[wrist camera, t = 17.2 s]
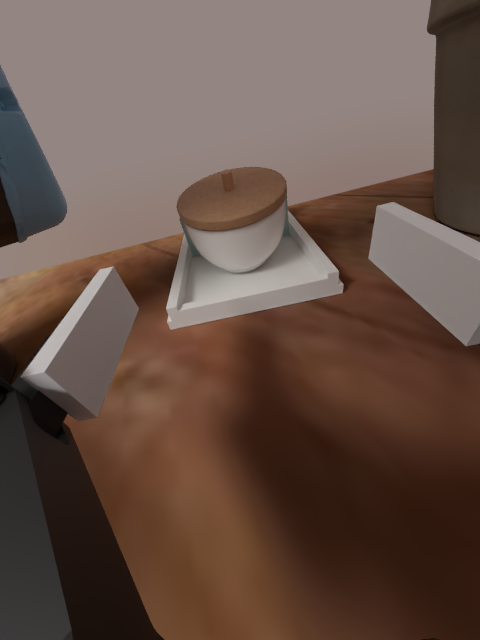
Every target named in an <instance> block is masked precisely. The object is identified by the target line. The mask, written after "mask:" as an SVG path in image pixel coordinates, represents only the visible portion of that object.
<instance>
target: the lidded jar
mask: <svg viewBox="0 0 480 640" xmlns="http://www.w3.org/2000/svg"><path fill="white" fill-rule="evenodd" d="M286 194H287V186H286V180H285V179H284V177H283V176H282V175H281V174H280V173H278V172H276V171H274V170H272V169H267V168H261V167H244V168H236V169H230V170H224V171H222V172H218V173H215V174H213V175H210V176H208V177H205V178H203V179H201V180H200V181H198V182H196V183H194V184H193V185H191V186H190V187H189V188H187V189H186V190H185V191H184V192H183V193H182V194H181V196H180V197H179V199H178V202H177V211H178V213H179V215H180V218H181V220H182V221H183V223H184V225H185V228H186V230H187V232H188V235H189V237H190V238H191V240H192V242H193V244H194V246H195V247H196V249H197V250H198V252H199V253H200V254H201V255H202V256H203V257H204V258H205V259H206V260H207V261H209V262H210V263H212V264H213V265H215V266H217V267H220V268H222V269H224V270H225V271H228V272H231V273H245V272H249V271H252V270H254V269H257V268H258V267H260V266H261V265H263V264H264V263H265V261H266V260H267V258H268V257H269V256H270V255H271V254H272V253H273V252H274V251H275V249H276V248H277V246H278V244H279V242H280V240H281V237H282V234H283V230H284V225H285V217H286Z"/></svg>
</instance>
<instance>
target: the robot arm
mask: <svg viewBox="0 0 480 640" xmlns="http://www.w3.org/2000/svg"><path fill="white" fill-rule="evenodd" d="M66 213H67V204H66V200H65V198H64V196H63V193H62V191H61V189H60V187H59V185H58V182H57V180H56V178H55V176H54V174H53V172H52V170H51V168H50V166H49V164H48V162H47V160H46V157H45V155H44V153H43V151H42V149H41V147H40V145H39V143H38V141H37V139H36V137H35V135H34V133H33V131H32V129H31V127H30V125H29V123H28V121H27V119H26V117H25V115H24V113H23V112H22V110H21V108H20V106H19V103H18V101H17V99H16V97H15V95H14V93H13V91H12V89H11V87H10V85H9V83H8V81H7V79H6V76H5V74H4V72H3V70H2V68H1V66H0V247H3V246H6V245H9V244H12V243H16V242H19V243H21V242H23V241H25V240H26V239H27V237H29V236H31V235H34V234H37V233H39V232H42V231H44V230H47V229H49V228H52V227H54V226H57V225H58V224H59V223H61V222H62V221H63V220H64V218H65V216H66ZM368 259H369V260H371V261H372V262H373V263H374V264H375V265H376V266H377V267H378V268H379V269H381V270H382V271H383V272H384V273H385V274H386V275H387V276H388V277H389V278H391V279H392V280H393V281H394V282H395V283H396V284H397V285H398V286H399V287H401V288H402V289H403V290H404V291H405V292H406V293H407V294H408V295H409V296H411V297H412V298H413V299H414V300H415V301H416V302H417V303H418V304H419V305H421V306H422V307H423V308H424V309H425V310H426V311H427V312H428V313H430V314H431V315H432V316H433V317H434V318H435V319H436V320H437V321H438V322H440V323H441V324H442V325H443V326H444V327H445V328H446V329H447V330H448V331H450V332H451V333H452V334H453V335H454V336H455V337H456V338H457V339H458V340H460V341H461V342H462V343H463V344H464V345H465V346H470V345H475V344H480V241H478V240H474V239H472V238H470V237H468V236H465V235H463V234H461V233H459V232H457V231H455V230H452V229H450V228H448V227H446V226H444V225H442V224H440V223H437V222H435V221H433V220H431V219H429V218H427V217H424V216H422V215H420V214H418V213H416V212H414V211H412V210H409V209H407V208H405V207H403V206H401V205H399V204H396V203H394V202H391V203H387V204H383V205H378V206H377V208H376V215H375V221H374V227H373V233H372V239H371V246H370V252H369V258H368ZM138 310H139V308H138V306H137V305H136V303H135V301H134V300H133V298H132V296H131V294H130V293H129V291H128V289H127V288H126V286H125V284H124V283H123V281H122V279H121V278H120V276H119V274H118V273H117V271H116V269H115V268H114V266H113V267H109V268H105V269H100V270H99V271H98V272H97V274H96V275H95V276H94V278H93V279H92V280H91V282H90V283H89V285H88V286H87V287H86V289H85V290H84V291H83V293H82V294H81V295H80V297H79V298H78V299H77V301H76V302H75V304H74V305H73V306H72V308H71V309H70V310H69V312H68V313H67V314H66V316H65V317H64V318H63V320H62V321H61V322H60V324H59V325H58V327H57V328H56V329H55V331H54V332H53V333H52V334H51V335H50V336H48V337H47V338H46V340H45V341H44V342H43V344H42V345H41V346H40V348H39V350H37V352H36V353H35V354H34V356H33V358H31V360H30V361H29V362H28V364H27V365H26V366H25V368H24V369H23V370H22V372H21V373H20V374H19V376H18V377H17V378H16V380H15V381H14V382H13V384H12V385H10V384H9V382H10V380H11V378H12V376H13V374H14V371H15V367H16V359H15V356H14V355H13V354H12V353H11V352H10V351H9V350H7V349H6V348H5V347H4V346H3V345H1V344H0V640H164V639H163V638H162V637H161V636H160V635H159V634H158V633H157V632H156V630H155V629H154V627H153V625H152V623H151V621H150V619H149V617H148V614H147V612H146V610H145V607H144V605H143V603H142V600H141V598H140V595H139V593H138V591H137V588H136V586H135V583H134V581H133V579H132V576H131V574H130V571H129V569H128V567H127V564H126V562H125V560H124V557H123V555H122V552H121V550H120V548H119V545H118V543H117V540H116V538H115V536H114V533H113V531H112V529H111V526H110V524H109V521H108V519H107V517H106V514H105V512H104V509H103V507H102V505H101V502H100V500H99V497H98V495H97V493H96V490H95V488H94V486H93V483H92V481H91V478H90V476H89V474H88V471H87V469H86V466H85V464H84V462H83V459H82V457H81V455H80V452H79V450H78V447H77V445H76V443H75V440H74V438H73V435H72V433H71V431H70V428H69V427H68V426H67V425H66V424H65V423H63V421H64V419H65V417H66V415H67V413H68V414H69V415H70V416H72V417H73V418H74V419H76V420H77V421H83V420H88V419H93V418H98V415H99V413H100V410H101V407H102V405H103V402H104V400H105V397H106V394H107V392H108V389H109V386H110V384H111V381H112V378H113V376H114V373H115V371H116V368H117V365H118V363H119V360H120V357H121V355H122V352H123V350H124V347H125V344H126V342H127V339H128V336H129V334H130V331H131V328H132V326H133V323H134V321H135V318H136V315H137V313H138ZM422 640H438V639H435V638H430V639H422Z"/></svg>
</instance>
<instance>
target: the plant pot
mask: <svg viewBox="0 0 480 640" xmlns="http://www.w3.org/2000/svg"><path fill="white" fill-rule="evenodd" d="M427 31H428V33H429V34H432V35H435V36H436V62H435V97H434V182H433V203H434V214H435V216H436V218H437V219H438V220H439V221H440V222H442V223H443V224H445V225H447V226H449V227H452V228H454V229H457V230H460V231H464V232H468V233H472V234H477V235H480V0H431V7H430V13H429V19H428V25H427Z"/></svg>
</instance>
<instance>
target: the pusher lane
mask: <svg viewBox="0 0 480 640" xmlns="http://www.w3.org/2000/svg"><path fill="white" fill-rule="evenodd" d="M288 222H289V234H287V235H283V236H282V237H281V240H280V242H279V244H278V246H277V248H276V249H275V251H274V252H273V253H272V254H271V255H270V256H269V257H268V258H267V260H266V261H265V263H264V264H263V265H261V266H260V267H258V268H257V269H254V270H252V271H249V272H245V273H231V272H228V271H225V270H224V269H222V268H220V267H217V266H215V265H213V264H212V263H210V262H209V261H207V260H206V259H205V258H204V257H203V256H202V255H201V254H200V255H196V256H192V253H191V250H190V248H189V245H188V242H187V239H186V236H185V233H184V237H183V241H182V245H181V249H180V253H179V258H178V262H177V266H176V270H175V274H174V278H173V282H172V286H171V290H170V294H169V299H168V303H167V307H166V310H167V312H168V314H169V316H168V320H167V323H168V325H169V327H170V329H171V330H172V329H177V328H181V327H186V326H191V325H196V324H200V323H205V322H210V321H214V320H219V319H224V318H229V317H233V316H238V315H243V314H247V313H252V312H257V311H262V310H266V309H271V308H276V307H280V306H285V305H290V304H294V303H299V302H304V301H309V300H313V299H318V298H323V297H327V296H332V295H337V294H342V293H343V285H344V284H343V283H342V282H341V281H340V279H339V271H338V269H337V268H336V267H335V266H334V265H333V263H332V262H331V261H330V260H329V259H328V257H327V256H326V255H325V254H324V253H323V251H322V250H321V249H320V248H319V247H318V245H317V244H316V243H315V242H314V241H313V239H312V238H311V237H310V236H309V235H308V233H307V232H306V231H305V230H304V229H303V227H302V226H301V225H300V224H299V223H298V221H297V220H296V219H295V218H294V217H293V215H292V214H291V213H290V212H289V211H288Z"/></svg>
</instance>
